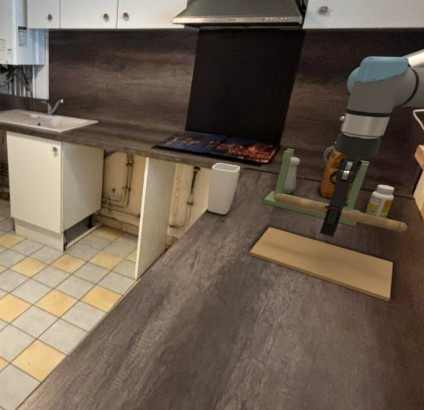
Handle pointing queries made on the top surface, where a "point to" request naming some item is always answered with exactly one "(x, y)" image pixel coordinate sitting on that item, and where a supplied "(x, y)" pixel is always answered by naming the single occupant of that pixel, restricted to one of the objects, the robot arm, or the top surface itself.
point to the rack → (279, 190)
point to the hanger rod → (343, 213)
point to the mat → (326, 262)
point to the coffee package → (331, 175)
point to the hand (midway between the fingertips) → (327, 232)
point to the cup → (222, 187)
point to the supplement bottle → (380, 201)
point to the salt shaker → (291, 176)
